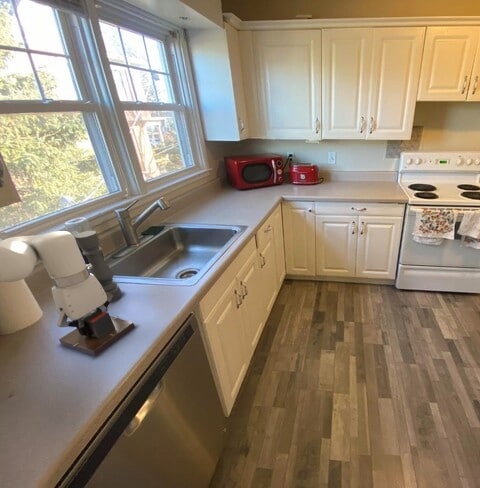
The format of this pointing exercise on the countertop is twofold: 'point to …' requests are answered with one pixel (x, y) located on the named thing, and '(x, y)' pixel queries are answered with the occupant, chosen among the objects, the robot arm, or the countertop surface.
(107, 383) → the countertop surface
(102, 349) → the stand
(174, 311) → the countertop surface
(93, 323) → the clock
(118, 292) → the candle holder
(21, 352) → the countertop surface
